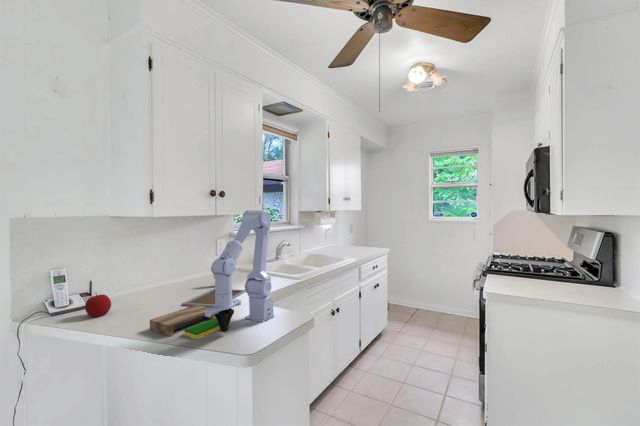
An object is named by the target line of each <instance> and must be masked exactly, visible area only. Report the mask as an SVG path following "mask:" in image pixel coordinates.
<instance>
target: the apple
mask: <svg viewBox="0 0 640 426" xmlns="http://www.w3.org/2000/svg"><path fill="white" fill-rule="evenodd" d="M94 294H95V295H94V296H91V297H89V298H88V299H87V300H86V302H85V305H84V309H85V313H87V315H88V316H90V317H92V318H93V317H94V318H99V317H102V316H105V315H106V314H107V313H108V312H110V310H111V308H112V300H111V299H110V297H109V296H108V295H107V294H104V293H103V294H102V293H101V294H98V295H97V292H95V293H94Z"/></svg>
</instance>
